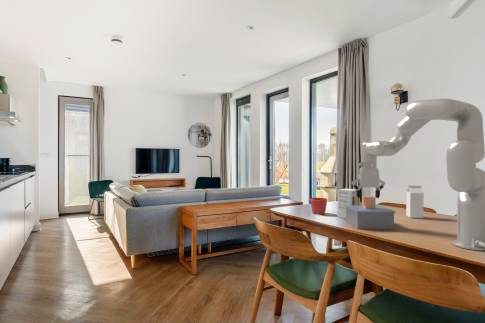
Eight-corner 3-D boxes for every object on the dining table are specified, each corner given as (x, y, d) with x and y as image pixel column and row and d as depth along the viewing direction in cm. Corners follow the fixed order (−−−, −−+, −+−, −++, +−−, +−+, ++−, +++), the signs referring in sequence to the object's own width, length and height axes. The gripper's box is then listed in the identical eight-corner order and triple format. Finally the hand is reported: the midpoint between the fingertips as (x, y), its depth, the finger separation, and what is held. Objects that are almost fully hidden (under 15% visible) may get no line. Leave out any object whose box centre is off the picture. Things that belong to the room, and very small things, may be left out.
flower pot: (309, 214, 188) (309, 199, 188) (310, 211, 199) (310, 197, 198) (326, 215, 185) (327, 200, 185) (327, 212, 195) (327, 197, 195)
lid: (395, 215, 150) (395, 199, 149) (356, 215, 150) (357, 199, 150) (379, 209, 169) (379, 194, 168) (344, 209, 169) (344, 194, 169)
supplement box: (351, 219, 173) (351, 190, 173) (337, 217, 180) (337, 189, 180) (359, 217, 179) (359, 189, 179) (345, 215, 186) (345, 188, 186)
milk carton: (423, 218, 176) (423, 186, 176) (410, 218, 178) (410, 186, 178) (418, 216, 183) (419, 185, 183) (406, 215, 185) (406, 185, 185)
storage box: (393, 229, 150) (394, 213, 150) (357, 228, 151) (357, 212, 150) (378, 221, 168) (378, 207, 168) (345, 221, 169) (346, 207, 168)
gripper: (354, 165, 156) (354, 198, 156) (388, 165, 155) (387, 199, 156) (349, 165, 163) (349, 196, 163) (382, 165, 163) (381, 197, 163)
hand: (368, 197), depth 160 cm, fingers open, 9 cm apart
